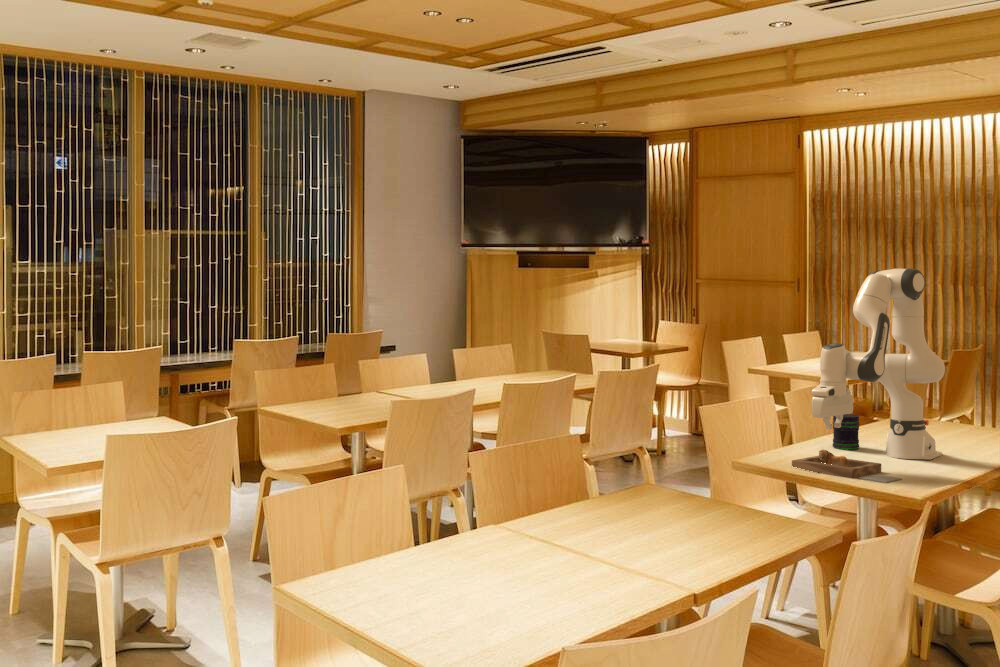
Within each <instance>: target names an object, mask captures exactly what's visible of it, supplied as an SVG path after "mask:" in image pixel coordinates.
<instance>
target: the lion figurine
mask: <svg viewBox="0 0 1000 667" xmlns="http://www.w3.org/2000/svg"><path fill="white" fill-rule="evenodd" d="M818 456H819V458H820V460H822V461H823V462H824V463H826V464H830V465H831V464H840V463H841V464H842V466H844V467H847V465H846V462H847V463H848V466H849V467H850V465H849V462H848V459H849V458H847V457H846V456H844V455H840V456H836V455H834V453H832V452H830V451H828V450H827V449H823V448H822V449H820V450H818Z"/></svg>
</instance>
